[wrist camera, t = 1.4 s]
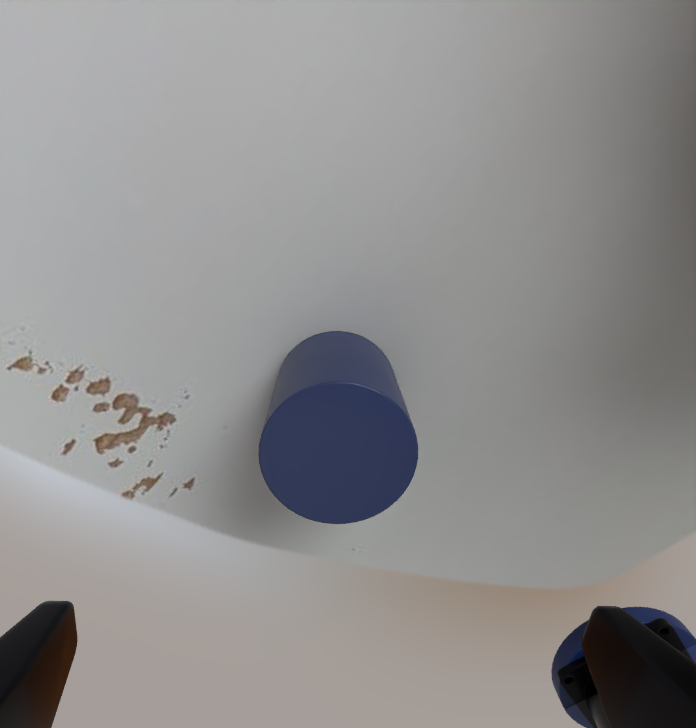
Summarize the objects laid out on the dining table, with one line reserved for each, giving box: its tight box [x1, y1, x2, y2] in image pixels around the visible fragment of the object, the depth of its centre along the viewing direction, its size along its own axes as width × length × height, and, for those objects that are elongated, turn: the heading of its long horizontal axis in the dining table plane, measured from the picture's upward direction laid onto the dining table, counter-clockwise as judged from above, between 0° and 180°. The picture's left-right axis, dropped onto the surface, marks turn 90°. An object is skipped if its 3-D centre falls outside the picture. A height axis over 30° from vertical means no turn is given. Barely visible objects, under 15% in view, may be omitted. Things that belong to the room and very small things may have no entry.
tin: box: [259, 331, 418, 524], centre depth 17 cm, size 5×5×6 cm
